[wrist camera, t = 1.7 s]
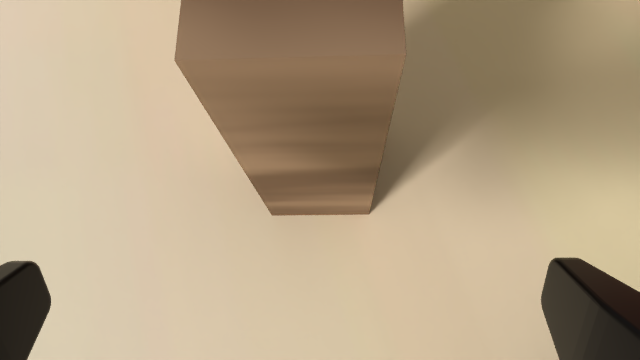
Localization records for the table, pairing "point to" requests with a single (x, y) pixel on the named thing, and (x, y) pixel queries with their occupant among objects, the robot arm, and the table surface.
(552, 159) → the table surface
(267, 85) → the brown tall block
